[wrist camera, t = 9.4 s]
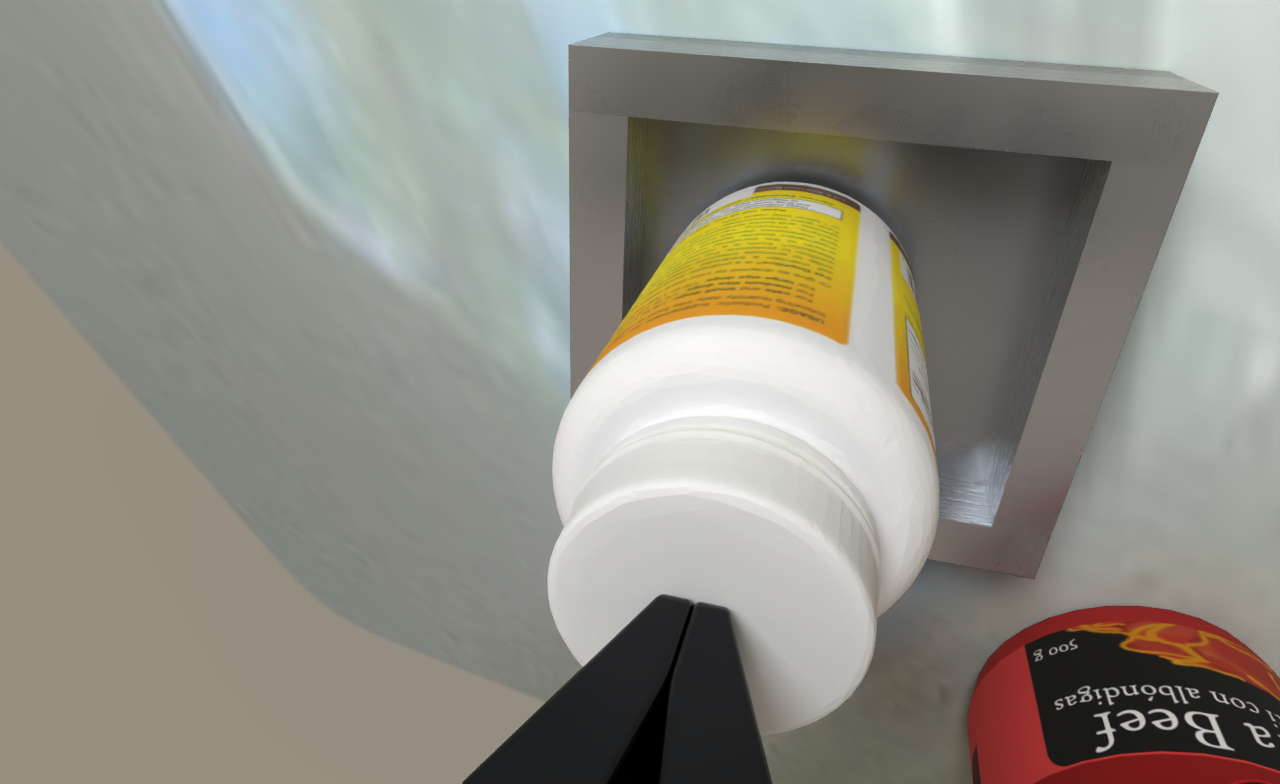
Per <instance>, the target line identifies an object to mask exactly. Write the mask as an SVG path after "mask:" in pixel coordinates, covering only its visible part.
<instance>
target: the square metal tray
mask: <svg viewBox="0 0 1280 784" xmlns="http://www.w3.org/2000/svg"><path fill="white" fill-rule="evenodd" d="M1218 94H1219V93H1218V92H1215V91H1213V90H1211V89H1208V88H1206V87H1204V86H1201V85H1199V84H1197V83H1194V82H1192V81H1190V80H1187V79H1185V78H1183V77H1180V76H1178V75H1176V74H1173V73H1171V72H1167V71H1153V70H1138V69H1124V68H1110V67H1095V66H1081V65H1067V64H1052V63H1038V62H1024V61H1010V60H995V59H981V58H967V57H952V56H938V55H924V54H909V53H895V52H881V51H867V50H852V49H838V48H824V47H809V46H795V45H781V44H767V43H752V42H738V41H724V40H709V39H695V38H681V37H666V36H652V35H638V34H624V33H609V32H608V33H605V34H602V35H599V36H595V37H592V38H589V39H586V40H583V41H579V42H576V43H573V44H570V45H569V195H570V364H571V399H572V397H573V395H574V393H575V392H576V390H577V388H578V386H579V385H580V384H581V382H582V381H583V379H584V378H585V376H586V375H587V373H588V372H589V370H590V369H591V367H592V366H593V364H594V363H595V361H596V360H597V358H598V357H599V355H600V354H601V352H602V351H603V349H604V348H605V346H606V345H607V344H608V342H609V340H610V339H611V337H612V336H613V334H614V333H615V331H616V330H617V329H618V327H619V326H620V324H621V323H622V321H623V320H624V318H625V317H626V315H627V314H628V312H629V311H630V309H631V307H632V306H633V304H634V303H635V302H636V300H637V299H638V297H639V296H640V294H641V292H642V291H643V289H644V288H645V287H646V285H647V284H648V282H649V281H650V279H651V278H652V276H653V275H654V273H655V272H656V271H657V269H658V268H659V266H660V265H661V263H662V262H663V260H664V259H665V257H666V255H667V254H668V253H669V251H670V250H671V248H672V247H673V245H674V244H675V243H676V241H677V239H678V238H679V237H680V235H681V234H682V233H683V232H684V230H685V229H686V228H687V227H688V226H689V225H690V224H691V222H692V221H693V220H694V219H695V218H696V217H697V216H699V215H700V214H701V213H702V212H703V211H705V210H706V209H707V208H708V207H710V206H711V205H712V204H714V203H715V202H717V201H719V200H721V199H722V198H724V197H726V196H728V195H730V194H732V193H734V192H736V191H739V190H742V189H745V188H747V187H751V186H755V185H759V184H764V183H771V182H802V183H809V184H814V185H819V186H823V187H827V188H830V189H833V190H835V191H838V192H840V193H843V194H845V195H847V196H849V197H851V198H853V199H855V200H857V201H858V202H860V203H861V204H863V205H864V206H866V207H867V208H868V209H870V210H871V211H872V212H874V213H875V214H876V215H877V216H878V217H879V218H880V219H881V220H882V221H883V222H884V223H885V224H886V225H887V226H888V227H889V228H890V230H891V231H892V232H893V233H894V235H895V236H896V238H897V239H898V241H899V242H900V244H901V246H902V247H903V249H904V251H905V253H906V255H907V257H908V260H909V262H910V265H911V268H912V271H913V275H914V279H915V283H916V289H917V294H918V302H919V310H920V318H921V325H922V334H923V343H924V352H925V358H926V369H927V376H928V386H929V395H930V404H931V412H932V422H933V432H934V437H935V449H936V457H937V465H938V473H939V489H940V490H939V518H938V524H937V529H936V533H935V538H934V541H933V544H932V547H931V550H930V553H929V555H928V557H927V559H931V560H937V561H942V562H947V563H952V564H957V565H962V566H967V567H973V568H978V569H983V570H988V571H993V572H998V573H1003V574H1009V575H1014V576H1019V577H1024V578H1029V579H1035V576H1036V573H1037V571H1038V568H1039V565H1040V563H1041V560H1042V558H1043V555H1044V552H1045V550H1046V547H1047V544H1048V542H1049V539H1050V536H1051V534H1052V531H1053V529H1054V526H1055V523H1056V521H1057V518H1058V515H1059V513H1060V510H1061V508H1062V505H1063V502H1064V500H1065V497H1066V494H1067V492H1068V489H1069V486H1070V484H1071V481H1072V479H1073V476H1074V473H1075V471H1076V468H1077V465H1078V463H1079V460H1080V457H1081V455H1082V452H1083V450H1084V447H1085V444H1086V442H1087V439H1088V436H1089V434H1090V431H1091V429H1092V426H1093V423H1094V421H1095V418H1096V415H1097V413H1098V410H1099V407H1100V405H1101V402H1102V400H1103V397H1104V394H1105V392H1106V389H1107V386H1108V384H1109V381H1110V378H1111V376H1112V373H1113V371H1114V368H1115V365H1116V363H1117V360H1118V357H1119V355H1120V352H1121V350H1122V347H1123V344H1124V342H1125V339H1126V336H1127V334H1128V331H1129V328H1130V326H1131V323H1132V321H1133V318H1134V315H1135V313H1136V310H1137V307H1138V305H1139V302H1140V299H1141V297H1142V294H1143V292H1144V289H1145V286H1146V284H1147V281H1148V278H1149V276H1150V273H1151V271H1152V268H1153V265H1154V263H1155V260H1156V257H1157V255H1158V252H1159V249H1160V247H1161V244H1162V242H1163V239H1164V236H1165V234H1166V231H1167V228H1168V226H1169V223H1170V220H1171V218H1172V215H1173V213H1174V210H1175V207H1176V205H1177V202H1178V199H1179V197H1180V194H1181V192H1182V189H1183V186H1184V184H1185V181H1186V178H1187V176H1188V173H1189V170H1190V168H1191V165H1192V163H1193V160H1194V157H1195V155H1196V152H1197V149H1198V147H1199V144H1200V142H1201V139H1202V136H1203V134H1204V131H1205V128H1206V126H1207V123H1208V120H1209V118H1210V115H1211V113H1212V110H1213V107H1214V105H1215V102H1216V99H1217V97H1218Z"/></svg>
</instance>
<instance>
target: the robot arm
mask: <svg viewBox="0 0 1280 784" xmlns="http://www.w3.org/2000/svg"><path fill="white" fill-rule="evenodd" d="M462 784H772V781H771V777H770V772H769V768H768V764H767V760H766V756H765V752H764V748H763V744H762V740H761V735H760V731H759V727H758V723H757V719H756V715H755V711H754V707H753V703H752V699H751V694H750V690H749V686H748V682H747V678H746V674H745V670H744V666H743V662H742V657H741V653H740V649H739V645H738V641H737V637H736V633H735V629H734V625H733V620H732V616H731V613H730V611H729V609H728V608H726V607H723V606H719V605H714V604H709V603H705V602H697V603H696V604H695V605H693V603H692V601H691V600H689V599H686V598H681V597H676V596H672V595H667V594H661V595H658V596H657V597H656V598H655V599H654V600H652V601H651V602H650V603H649V604H648V605H647V606H646V607H645V608H644V609H643V610H642V611H641V612H640V613H639V614H638V615H637V616H636V617H635V618H634V619H633V620H632V621H631V622H629V623H628V624H627V625H626V626H625V627H624V628H623V629H622V630H621V631H620V632H619V633H618V634H617V635H616V636H615V637H614V638H613V639H612V640H611V641H610V642H609V643H608V644H606V645H605V646H604V647H603V648H602V649H601V650H600V651H599V652H598V653H597V654H596V655H595V656H594V657H593V658H592V659H591V660H590V661H589V662H588V663H587V664H586V665H584V666H583V667H582V668H581V669H580V670H579V671H578V672H577V673H576V674H575V675H574V676H573V677H572V678H571V679H570V680H569V681H568V682H567V683H566V684H565V685H564V686H563V687H561V688H560V689H559V690H558V691H557V692H556V693H555V694H554V695H553V696H552V697H551V698H550V699H549V700H548V701H547V702H546V703H545V704H544V705H543V706H542V707H541V708H540V709H538V711H536V712H535V713H534V714H533V715H532V716H531V717H530V718H529V719H528V720H527V721H526V722H525V723H524V724H523V725H522V726H521V727H520V728H519V729H518V730H516V732H515V733H514V734H512V735H511V736H510V737H509V738H508V739H507V740H506V741H505V742H504V743H503V744H502V745H501V746H500V747H499V748H498V749H497V750H496V751H495V752H494V753H492V754H491V755H490V757H488V758H487V759H486V760H485V761H484V762H483V763H482V764H481V765H480V766H479V767H478V768H477V769H476V770H475V771H474V772H473V773H472V774H470V776H468V777H467V778H466V779H465V780H464V781H463V783H462Z"/></svg>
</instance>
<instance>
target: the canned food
mask: <svg viewBox="0 0 1280 784" xmlns="http://www.w3.org/2000/svg"><path fill="white" fill-rule="evenodd" d="M968 737H969V747H970V756H971V766H972V775H973V784H1280V678H1279V677H1278V676H1277V675H1276V673H1275V672H1274V671H1273V670H1272V669H1271V668H1270V666H1269V665H1268V664H1266V663H1265V662H1264V661H1263V660H1262V659H1261V658H1260V657H1259V656H1257V655H1256V654H1255V653H1254V652H1253V651H1252V650H1251V649H1249V648H1248V647H1247V646H1246V645H1245V644H1243V643H1242V642H1241V641H1239V640H1238V639H1236V638H1235V637H1234V636H1232V635H1231V634H1230V633H1228V632H1227V631H1225V630H1223V629H1221V628H1219V627H1217V626H1215V625H1213V624H1210V623H1208V622H1206V621H1204V620H1202V619H1200V618H1196V617H1193V616H1189V615H1186V614H1182V613H1179V612H1175V611H1172V610H1166V609H1158V608H1151V607H1143V606H1104V607H1097V608H1089V609H1082V610H1076V611H1072V612H1069V613H1065V614H1061V615H1058V616H1054V617H1051V618H1048V619H1046V620H1043V621H1041V622H1039V623H1037V624H1035V625H1032V626H1030V627H1028V628H1026V629H1024V630H1022V631H1021V632H1019V633H1018V634H1016V635H1015V636H1013V637H1012V638H1010V639H1009V640H1007V641H1006V642H1004V643H1003V644H1002V645H1001V646H1000V647H999V648H998V649H997V650H996V651H995V652H994V653H993V654H992V655H991V656H990V657H989V659H988V660H987V662H986V664H985V665H984V667H983V669H982V670H981V672H980V673H979V675H978V679H977V682H976V686H975V689H974V693H973V696H972V700H971V703H970V707H969V710H968Z"/></svg>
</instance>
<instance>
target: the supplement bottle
mask: <svg viewBox="0 0 1280 784" xmlns="http://www.w3.org/2000/svg"><path fill="white" fill-rule="evenodd" d="M552 475H553V488H554V494H555V500H556V505H557V509H558V512H559V515H560V518H561V521H562V523H563V526H564V528H563V530H562V532H561V534H560V536H559V538H558V540H557V542H556V544H555V547H554V550H553V553H552V556H551V559H550V563H549V569H548V579H547V581H548V597H549V603H550V609H551V612H552V615H553V618H554V621H555V624H556V626H557V629H558V631H559V633H560V634H561V636H562V638H563V640H564V642H565V643H566V645H567V646H568V648H569V649H570V651H571V653H572V654H573V655H574V657H575V658H576V659H577V660H578V662H579V663H580V664H581V665H582V667H583V666H584V665H586V664H587V663H588V662H589V661H590V660H591V659H592V658H593V657H594V656H595V655H596V654H597V653H598V652H599V651H600V650H601V649H602V648H603V647H604V646H605V645H606V644H608V643H609V642H610V641H611V640H612V639H613V638H614V637H615V636H616V635H617V634H618V633H619V632H620V631H621V630H622V629H623V628H624V627H625V626H626V625H627V624H628V623H629V622H631V621H632V620H633V619H634V618H635V617H636V616H637V615H638V614H639V613H640V612H641V611H642V610H643V609H644V608H645V607H646V606H647V605H648V604H649V603H650V602H651V601H652V600H654V599H655V598H656V597H657V596H658V595H661V594H667V595H672V596H676V597H681V598H686V599H689V600H691V601H692V603H693V605H695V604H696V603H697V602H705V603H709V604H714V605H719V606H723V607H726V608H728V609H729V611H730V613H731V616H732V620H733V625H734V629H735V633H736V637H737V641H738V645H739V649H740V653H741V657H742V662H743V666H744V670H745V674H746V678H747V682H748V686H749V690H750V694H751V699H752V703H753V707H754V711H755V715H756V719H757V723H758V727H759V731H760V735H761V736H764V735H773V734H778V733H782V732H787V731H791V730H794V729H797V728H800V727H803V726H806V725H809V724H811V723H813V722H815V721H817V720H819V719H822V718H823V717H825V716H826V715H828V714H829V713H831V712H832V711H834V710H836V709H837V708H838V707H839V706H841V705H842V704H843V703H844V702H845V701H846V700H847V699H848V698H849V697H850V696H851V695H852V694H853V693H854V691H855V690H856V689H857V688H858V686H859V685H860V683H861V682H862V681H863V679H864V677H865V675H866V673H867V671H868V668H869V666H870V663H871V660H872V657H873V654H874V649H875V644H876V636H877V618H878V617H879V616H881V615H882V614H883V613H885V612H886V611H887V610H889V609H890V608H891V607H892V606H893V605H894V604H895V603H896V602H897V601H898V600H899V599H900V598H901V597H902V596H903V595H904V594H905V592H906V591H907V590H908V589H909V588H910V586H911V585H912V584H913V582H914V581H915V579H916V578H917V576H918V575H919V573H920V571H921V570H922V568H923V566H924V564H925V561H926V559H927V557H928V555H929V553H930V550H931V547H932V544H933V541H934V538H935V533H936V529H937V524H938V518H939V490H940V489H939V473H938V465H937V457H936V449H935V437H934V432H933V422H932V412H931V404H930V395H929V386H928V376H927V369H926V358H925V352H924V343H923V334H922V325H921V318H920V310H919V302H918V294H917V289H916V283H915V279H914V275H913V271H912V268H911V265H910V262H909V260H908V257H907V255H906V253H905V251H904V249H903V247H902V246H901V244H900V242H899V241H898V239H897V238H896V236H895V235H894V233H893V232H892V231H891V230H890V228H889V227H888V226H887V225H886V224H885V223H884V222H883V221H882V220H881V219H880V218H879V217H878V216H877V215H876V214H875V213H874V212H872V211H871V210H870V209H868V208H867V207H866V206H864V205H863V204H861V203H860V202H858V201H857V200H855V199H853V198H851V197H849V196H847V195H845V194H843V193H840V192H838V191H835V190H833V189H830V188H827V187H823V186H819V185H814V184H809V183H802V182H771V183H764V184H759V185H755V186H751V187H747V188H745V189H742V190H739V191H736V192H734V193H732V194H730V195H728V196H726V197H724V198H722V199H721V200H719V201H717V202H715V203H714V204H712V205H711V206H710V207H708V208H707V209H706V210H705V211H703V212H702V213H701V214H700V215H699V216H697V217H696V218H695V219H694V220H693V221H692V222H691V224H690V225H689V226H688V227H687V228H686V229H685V230H684V232H683V233H682V234H681V235H680V237H679V238H678V239H677V241H676V243H675V244H674V245H673V247H672V248H671V250H670V251H669V253H668V254H667V255H666V257H665V259H664V260H663V262H662V263H661V265H660V266H659V268H658V269H657V271H656V272H655V273H654V275H653V276H652V278H651V279H650V281H649V282H648V284H647V285H646V287H645V288H644V289H643V291H642V292H641V294H640V296H639V297H638V299H637V300H636V302H635V303H634V304H633V306H632V307H631V309H630V311H629V312H628V314H627V315H626V317H625V318H624V320H623V321H622V323H621V324H620V326H619V327H618V329H617V330H616V331H615V333H614V334H613V336H612V337H611V339H610V340H609V342H608V344H607V345H606V346H605V348H604V349H603V351H602V352H601V354H600V355H599V357H598V358H597V360H596V361H595V363H594V364H593V366H592V367H591V369H590V370H589V372H588V373H587V375H586V376H585V378H584V379H583V381H582V382H581V384H580V385H579V386H578V388H577V390H576V392H575V393H574V395H573V397H572V399H571V401H570V402H569V404H568V406H567V408H566V410H565V413H564V415H563V417H562V420H561V423H560V426H559V429H558V432H557V436H556V440H555V445H554V452H553V467H552Z"/></svg>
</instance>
